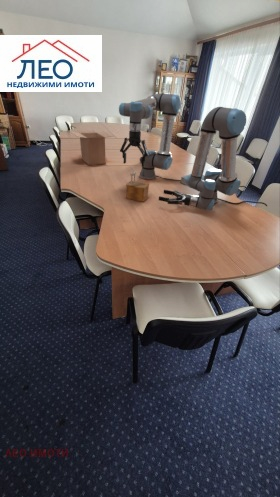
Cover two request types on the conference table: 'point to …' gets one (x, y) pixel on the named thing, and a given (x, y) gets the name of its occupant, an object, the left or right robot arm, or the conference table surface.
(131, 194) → the chest
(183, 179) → the book
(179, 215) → the conference table surface
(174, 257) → the conference table surface
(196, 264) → the conference table surface
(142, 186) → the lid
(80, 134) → the box
